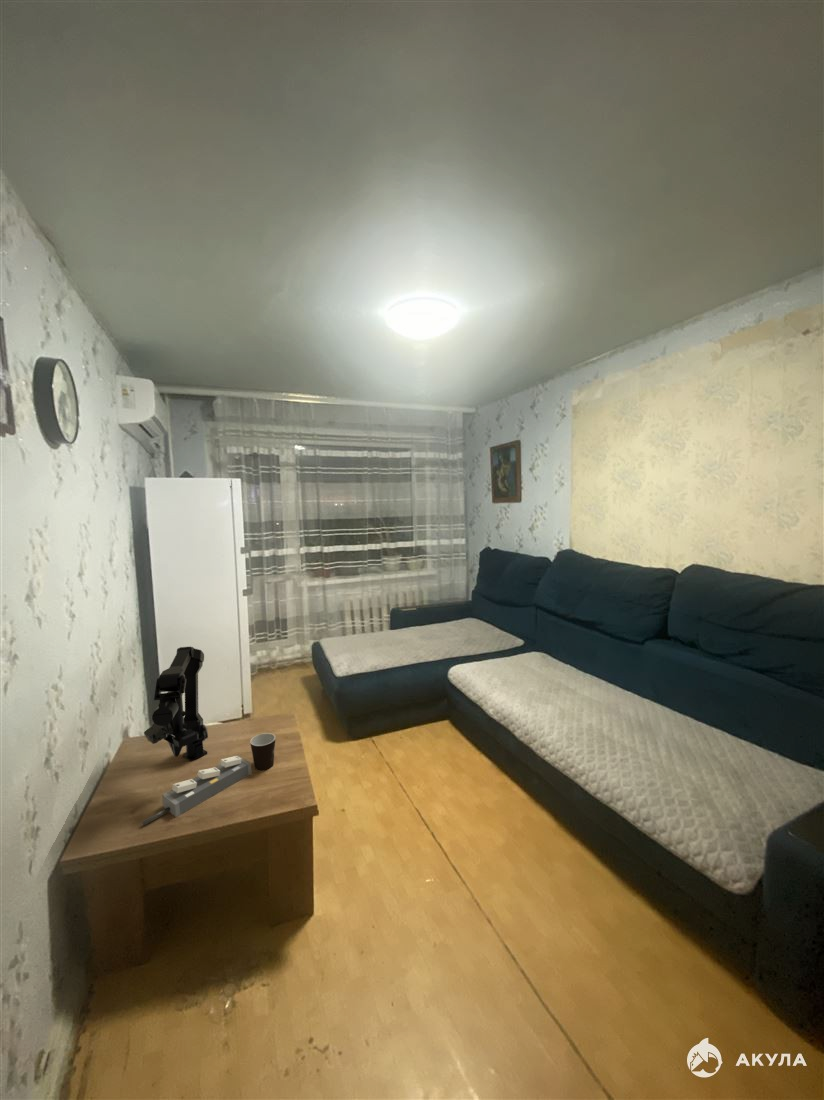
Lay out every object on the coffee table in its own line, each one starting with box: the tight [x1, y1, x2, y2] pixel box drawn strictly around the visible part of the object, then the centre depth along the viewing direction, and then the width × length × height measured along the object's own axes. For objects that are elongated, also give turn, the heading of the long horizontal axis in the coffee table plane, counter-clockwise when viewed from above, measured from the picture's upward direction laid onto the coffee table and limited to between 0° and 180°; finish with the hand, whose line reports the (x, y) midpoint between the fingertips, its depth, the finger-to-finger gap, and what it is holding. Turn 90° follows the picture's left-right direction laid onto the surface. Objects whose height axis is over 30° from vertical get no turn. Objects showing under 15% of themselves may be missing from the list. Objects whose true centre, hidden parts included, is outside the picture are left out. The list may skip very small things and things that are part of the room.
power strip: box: [141, 754, 252, 826], centre depth 143 cm, size 8×34×4 cm, turn 144°
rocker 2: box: [196, 766, 220, 779], centre depth 146 cm, size 3×6×2 cm, turn 144°
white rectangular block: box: [171, 778, 197, 793], centre depth 139 cm, size 3×6×2 cm, turn 144°
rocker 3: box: [219, 755, 242, 767], centre depth 152 cm, size 3×6×2 cm, turn 144°
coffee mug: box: [249, 732, 276, 772], centre depth 160 cm, size 12×9×10 cm
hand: (176, 756), depth 145 cm, fingers closed
